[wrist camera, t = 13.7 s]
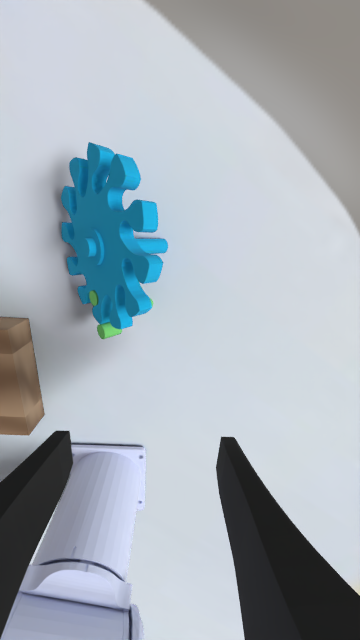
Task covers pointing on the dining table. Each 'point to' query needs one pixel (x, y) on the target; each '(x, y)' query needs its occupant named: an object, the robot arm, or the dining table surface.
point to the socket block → (18, 379)
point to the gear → (110, 238)
